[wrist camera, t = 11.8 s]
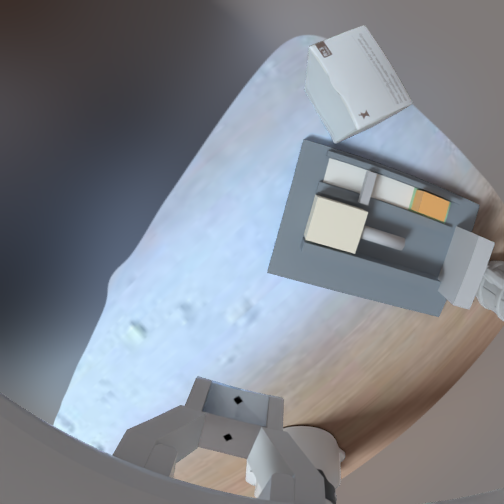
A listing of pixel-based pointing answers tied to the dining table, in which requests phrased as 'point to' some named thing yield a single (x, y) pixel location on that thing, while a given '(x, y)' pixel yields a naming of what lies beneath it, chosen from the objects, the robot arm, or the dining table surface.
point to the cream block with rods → (346, 222)
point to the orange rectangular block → (430, 205)
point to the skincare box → (352, 83)
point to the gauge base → (388, 220)
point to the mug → (492, 288)
